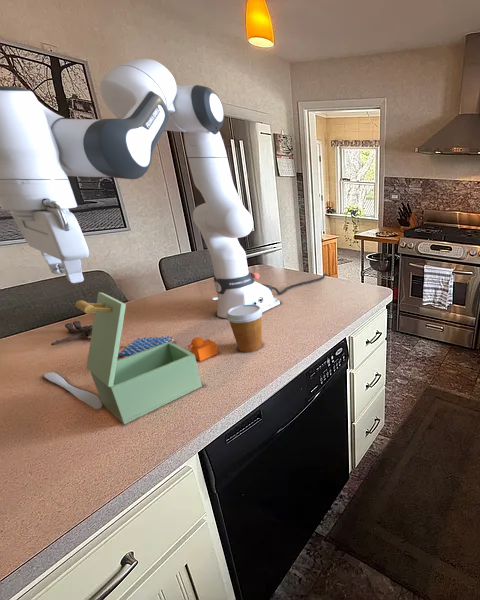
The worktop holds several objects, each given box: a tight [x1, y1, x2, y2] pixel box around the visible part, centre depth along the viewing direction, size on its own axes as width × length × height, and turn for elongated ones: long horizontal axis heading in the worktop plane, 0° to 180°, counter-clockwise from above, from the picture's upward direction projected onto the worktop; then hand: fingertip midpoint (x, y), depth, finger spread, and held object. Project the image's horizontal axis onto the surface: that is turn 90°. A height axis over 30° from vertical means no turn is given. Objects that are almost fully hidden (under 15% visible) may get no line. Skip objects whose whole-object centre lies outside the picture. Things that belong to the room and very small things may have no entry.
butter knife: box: [43, 371, 103, 410], centre depth 76 cm, size 1×27×3 cm
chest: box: [90, 341, 203, 425], centre depth 74 cm, size 16×12×9 cm
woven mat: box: [117, 335, 175, 360], centre depth 93 cm, size 10×11×2 cm
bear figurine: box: [50, 320, 93, 346], centre depth 102 cm, size 18×4×14 cm
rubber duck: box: [187, 336, 219, 362], centre depth 90 cm, size 6×4×6 cm, turn 147°
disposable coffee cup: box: [225, 304, 264, 353], centre depth 95 cm, size 10×10×12 cm
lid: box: [74, 292, 127, 387], centre depth 63 cm, size 16×12×5 cm
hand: (67, 277), depth 59 cm, fingers open, 8 cm apart
